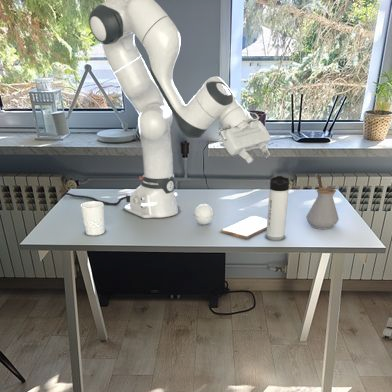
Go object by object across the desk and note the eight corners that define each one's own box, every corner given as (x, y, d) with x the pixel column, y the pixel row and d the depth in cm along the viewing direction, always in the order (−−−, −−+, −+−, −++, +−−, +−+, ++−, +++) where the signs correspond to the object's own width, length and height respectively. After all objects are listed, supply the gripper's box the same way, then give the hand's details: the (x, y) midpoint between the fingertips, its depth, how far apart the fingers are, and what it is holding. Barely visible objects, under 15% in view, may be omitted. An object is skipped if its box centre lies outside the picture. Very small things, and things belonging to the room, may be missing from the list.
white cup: (96, 237, 175) (92, 209, 170) (79, 233, 179) (75, 205, 173) (110, 230, 181) (108, 203, 175) (94, 227, 184) (91, 199, 179)
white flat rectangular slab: (221, 232, 179) (221, 229, 178) (252, 217, 191) (253, 215, 191) (246, 239, 173) (246, 236, 172) (277, 223, 186) (277, 221, 185)
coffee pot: (340, 231, 179) (347, 188, 170) (308, 231, 179) (313, 188, 170) (327, 212, 196) (333, 172, 188) (298, 212, 197) (302, 172, 188)
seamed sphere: (192, 221, 189) (192, 201, 185) (212, 220, 189) (212, 200, 185) (195, 230, 180) (195, 210, 176) (216, 229, 181) (216, 209, 177)
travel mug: (283, 233, 177) (289, 175, 166) (284, 240, 171) (290, 181, 160) (266, 233, 177) (270, 175, 166) (266, 240, 172) (270, 180, 161)
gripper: (222, 121, 156) (247, 158, 156) (259, 113, 169) (282, 147, 169) (211, 135, 161) (235, 171, 161) (248, 126, 174) (270, 159, 174)
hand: (259, 159), depth 165 cm, fingers open, 8 cm apart
